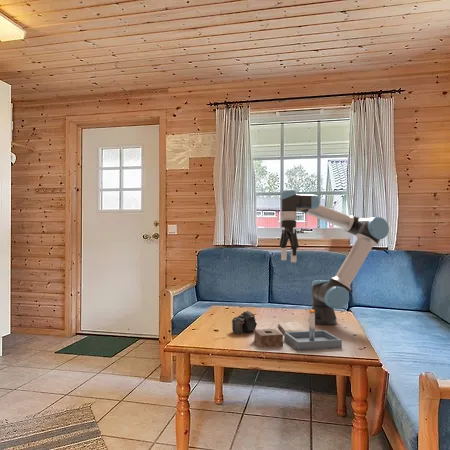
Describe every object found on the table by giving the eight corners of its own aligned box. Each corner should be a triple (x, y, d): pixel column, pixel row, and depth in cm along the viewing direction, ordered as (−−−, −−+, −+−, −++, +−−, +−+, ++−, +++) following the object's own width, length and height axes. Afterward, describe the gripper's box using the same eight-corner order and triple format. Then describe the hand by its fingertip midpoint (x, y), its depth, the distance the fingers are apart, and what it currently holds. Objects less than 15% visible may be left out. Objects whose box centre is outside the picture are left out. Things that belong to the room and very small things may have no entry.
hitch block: (275, 339, 170) (275, 328, 170) (282, 346, 161) (283, 334, 161) (254, 340, 168) (254, 329, 168) (260, 347, 159) (260, 335, 159)
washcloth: (298, 326, 197) (298, 320, 197) (308, 335, 180) (308, 329, 180) (276, 326, 196) (276, 320, 196) (284, 336, 178) (284, 329, 179)
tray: (324, 337, 174) (324, 330, 174) (341, 348, 159) (341, 339, 159) (284, 339, 170) (284, 332, 170) (297, 350, 154) (298, 342, 155)
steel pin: (313, 340, 166) (313, 309, 166) (315, 342, 163) (315, 310, 164) (308, 340, 165) (308, 309, 166) (310, 342, 163) (310, 310, 163)
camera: (247, 336, 176) (247, 315, 176) (229, 332, 181) (229, 312, 182) (261, 330, 186) (261, 310, 187) (244, 327, 192) (244, 308, 192)
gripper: (273, 220, 202) (273, 259, 202) (291, 219, 178) (290, 263, 177) (286, 220, 204) (286, 259, 203) (305, 219, 179) (305, 263, 179)
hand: (288, 261), depth 190 cm, fingers open, 13 cm apart
